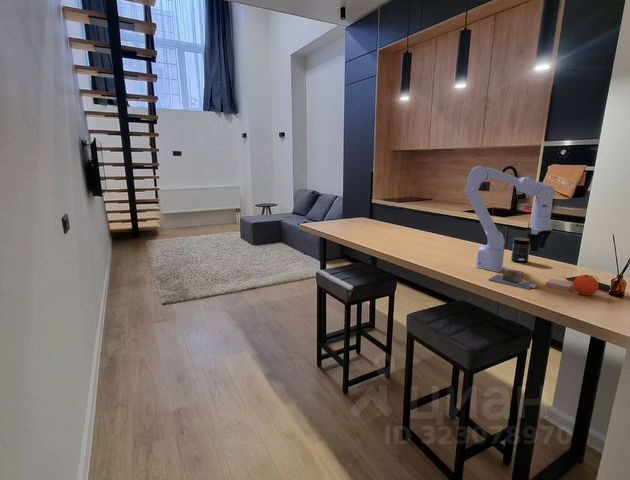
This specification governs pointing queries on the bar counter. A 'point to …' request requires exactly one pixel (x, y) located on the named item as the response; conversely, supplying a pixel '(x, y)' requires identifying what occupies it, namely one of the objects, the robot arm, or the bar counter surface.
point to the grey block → (517, 278)
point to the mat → (507, 282)
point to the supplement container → (520, 250)
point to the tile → (559, 284)
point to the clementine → (586, 284)
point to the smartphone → (601, 286)
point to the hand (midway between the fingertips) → (537, 249)
